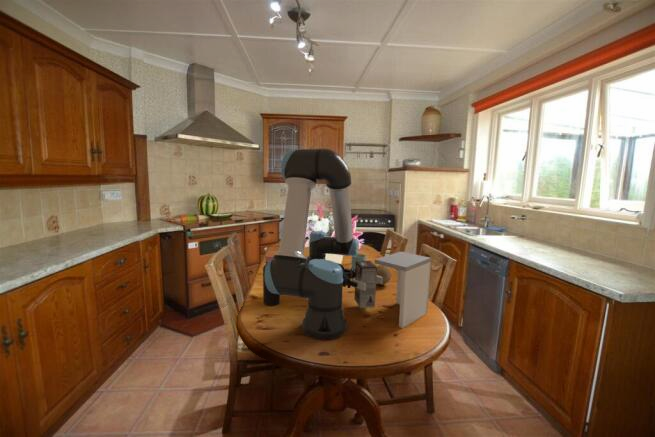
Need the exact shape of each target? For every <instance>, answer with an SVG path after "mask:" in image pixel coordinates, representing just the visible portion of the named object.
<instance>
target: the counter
mask: <svg viewBox="0 0 655 437" xmlns="http://www.w3.org/2000/svg"><path fill="white" fill-rule="evenodd" d="M431 263H432V258H431V257H429V256H424V255H419V254H414V253H410V252H406V251H399V252H393V253H392V254H389V255H384V256H381V257H379V258H375V259H374V265H378V266H379V265H383V266H387V267H388V268H389V269H390V268H391V269H395V270H397V280H396V281H397V283H396V284H397V286H396V304H397V305H399V317H398V319H399V320H398V328H401V329H404V328H405V327H407V326H408V325H410V324H412V323H413V322H416V321H417V320H418V319H419V318H422V317H423V316H424V315H426V314H427V313H428V310H429V309H428V308H429V306H428V305H429V292H430V279H431V278H430V277H431V276H430V275H431V265H432V264H431Z"/></svg>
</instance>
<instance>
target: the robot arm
mask: <svg viewBox="0 0 655 437" xmlns="http://www.w3.org/2000/svg"><path fill="white" fill-rule="evenodd" d="M280 169H281V170H280V172H281V175H282V178H283V179H284V183H285V184H286V185H287V186H288V187H287V188H288V189H287V194H286V202H285V208H284V215H283V222H282V227H281V228H282V230H281V235H280V242H279V247H278V248H279V250H278V251H277V252H275V253H273V254H274V259H272V260H270V261H268V263H267V265H266V264H265V265H266V268H265V284H266V286H267V289H268V290H269V291H270V292H271V293H274V294H279V295H280V296H286V297H292V298H293V297H295V298H302V299H307V308H306V312H305V315H304V318H303V319H302V331H303V333H304V334H305V335H306V336H308V337H309V338H312V339H315V340H326V341H328V340H334V339H338V338H340V337H343V335H344V334H345V333H347V325H348V324H347V320H346V317H345V314H344V310H343V287H344V288H348V289H350V288H351V287H352V288H354V289H355V288H358V289H361V290H364V291H365V290H366V283H364V282H361V281H357V280H355V269H354V268H352V267H351V268H350V269H349V268H345V267H344V265H343V264H342V263H339V262H335V261H332V260H329V259H326V256H327V255H328V254H329V255H337V256H346V257H348V256H349V257H352V256H356V255H357V254H359V248H360V247H359V243H360V242H359V240H358V239H357V238H354V235H353V234H354V233H353V223H352V209H351V208H352V207H351V196H350V194H351V193H350V186H352V176H351V175H352V174H351V172H350V169H349V166H348V164H347V163H346V161H345V160H344V159H343V157H342V156H341V155H340V154H339V153H337V152H336V150H335V151H334V150H333V149H329V148H299V147H298V148H291V149H289V150H286V152H285V153H284V155H283V157H282V160H281V165H280ZM317 181H325V184H326V185H325V186H326V187H327V188H328V189H329V196H330V204H331V212H332V219H333V230H334V236H335V237H333V236H327V233H326V232H325V231H321V230H320V231H319V230H316V231H311V232H310V233H309V240H308V244H309V245H308V249H309V250H308V254H309V255H308V256H307V257H306V256H305V254H304V249H305V243H306V242H305V241H306V235H307V226H308V220H309V211H310V203H311V196H312V190H314V189H315V188H316V186H317ZM326 254H327V255H326ZM378 283H379V284H378ZM376 284H378V285H380V284H383V277H380V276H377V277H376Z"/></svg>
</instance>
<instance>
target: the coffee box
mask: <svg viewBox="0 0 655 437" xmlns="http://www.w3.org/2000/svg"><path fill="white" fill-rule="evenodd" d="M377 267H378V266H376V264H375V263H374V262H372V261H371V260H366V261H356V268H355V278H354V280H357V281H361V282H364V283H366V290H365V291H364V290H361V289H358V288H355V287H354V298H353V299H354V300H355V302H356V303H357V305H358V306H357V307H359V308H360V309H364V308H365V309H367V308H375V307H376V290H377V283H376V277H377Z"/></svg>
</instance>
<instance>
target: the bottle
mask: <svg viewBox="0 0 655 437" xmlns="http://www.w3.org/2000/svg"><path fill="white" fill-rule="evenodd" d="M274 254H275V253H267V254H265V256H264V257H265V258H264V262H265V264H264V266H263V267H262V282H263V283H262V291H263V293H262V294H263V299H262V301H263V302H262V303H263V304H264V305H265V306H268V307H269V306H271V307H272V306H273V307H274V306H277V305H278V304H280V302H281V295H279V294H274V293H271V292H270V291H269V290H268V289H267V286H266V284H265V268H266V265H267V263H268V261H270V260H272V259H274Z"/></svg>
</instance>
